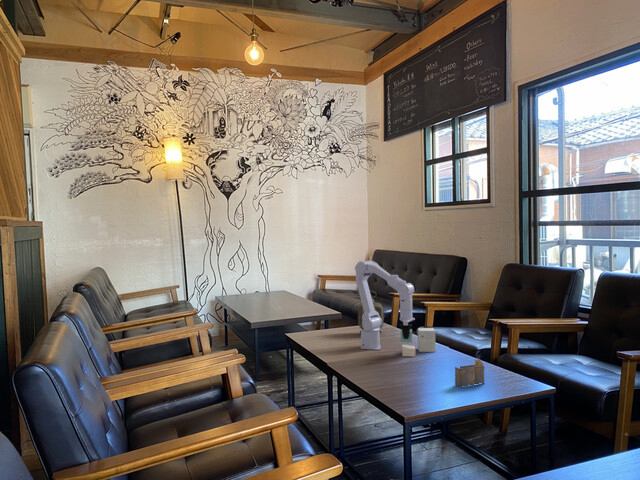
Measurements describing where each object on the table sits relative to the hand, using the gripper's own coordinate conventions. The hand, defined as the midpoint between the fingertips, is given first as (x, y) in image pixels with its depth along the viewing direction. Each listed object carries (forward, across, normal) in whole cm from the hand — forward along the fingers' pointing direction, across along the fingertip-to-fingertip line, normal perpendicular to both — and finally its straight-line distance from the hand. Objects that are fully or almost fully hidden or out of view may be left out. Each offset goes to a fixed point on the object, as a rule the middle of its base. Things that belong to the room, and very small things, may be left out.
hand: (406, 337), depth 216 cm
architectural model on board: (+9, -36, -26) cm, 45 cm away
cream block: (+9, +1, -1) cm, 9 cm away
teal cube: (+2, 0, 0) cm, 2 cm away
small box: (+9, +10, -9) cm, 16 cm away
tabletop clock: (+9, +36, +22) cm, 43 cm away
